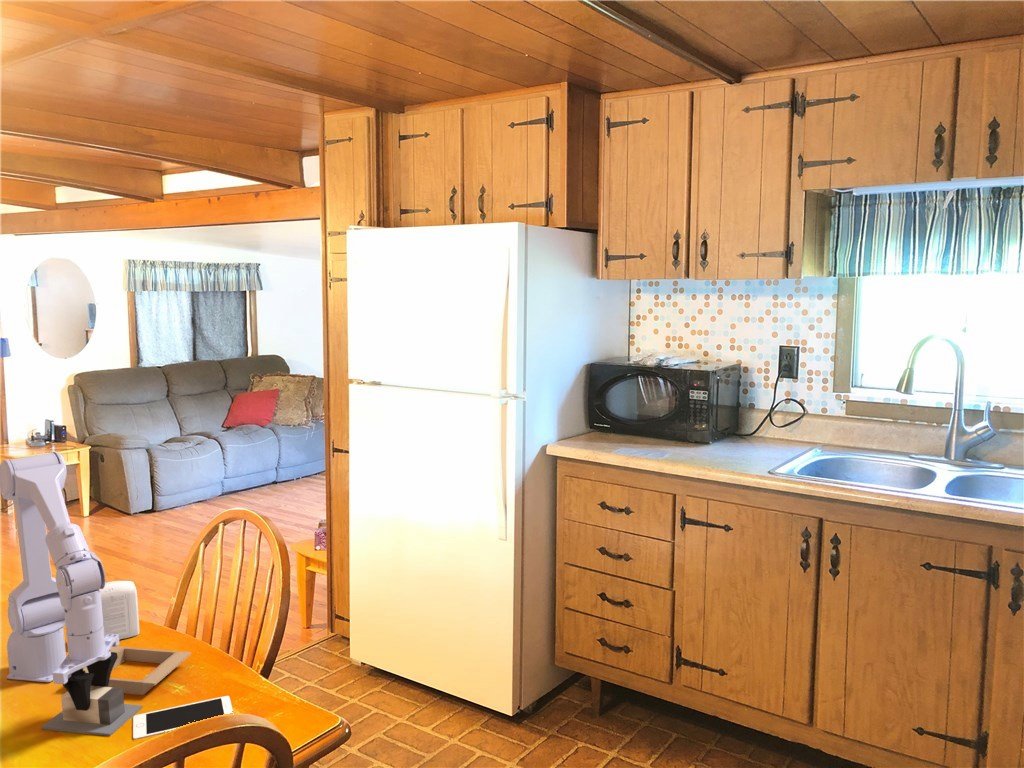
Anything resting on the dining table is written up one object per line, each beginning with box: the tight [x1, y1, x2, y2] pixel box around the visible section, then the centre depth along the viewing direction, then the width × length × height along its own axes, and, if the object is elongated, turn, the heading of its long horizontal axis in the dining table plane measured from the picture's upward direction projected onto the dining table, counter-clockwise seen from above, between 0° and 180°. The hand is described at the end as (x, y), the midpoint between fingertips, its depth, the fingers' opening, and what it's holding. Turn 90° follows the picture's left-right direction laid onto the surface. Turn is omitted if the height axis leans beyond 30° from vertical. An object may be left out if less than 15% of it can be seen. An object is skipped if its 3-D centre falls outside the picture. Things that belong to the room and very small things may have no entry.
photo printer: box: [100, 580, 140, 641], centre depth 173 cm, size 10×4×12 cm, turn 123°
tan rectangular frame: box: [83, 646, 192, 696], centre depth 158 cm, size 17×12×2 cm
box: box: [60, 686, 125, 725], centre depth 143 cm, size 9×4×4 cm, turn 81°
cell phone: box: [132, 695, 234, 740], centre depth 144 cm, size 8×16×1 cm, turn 115°
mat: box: [40, 703, 143, 737], centre depth 143 cm, size 13×9×1 cm
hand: (91, 702), depth 143 cm, fingers closed on box, 4 cm apart
